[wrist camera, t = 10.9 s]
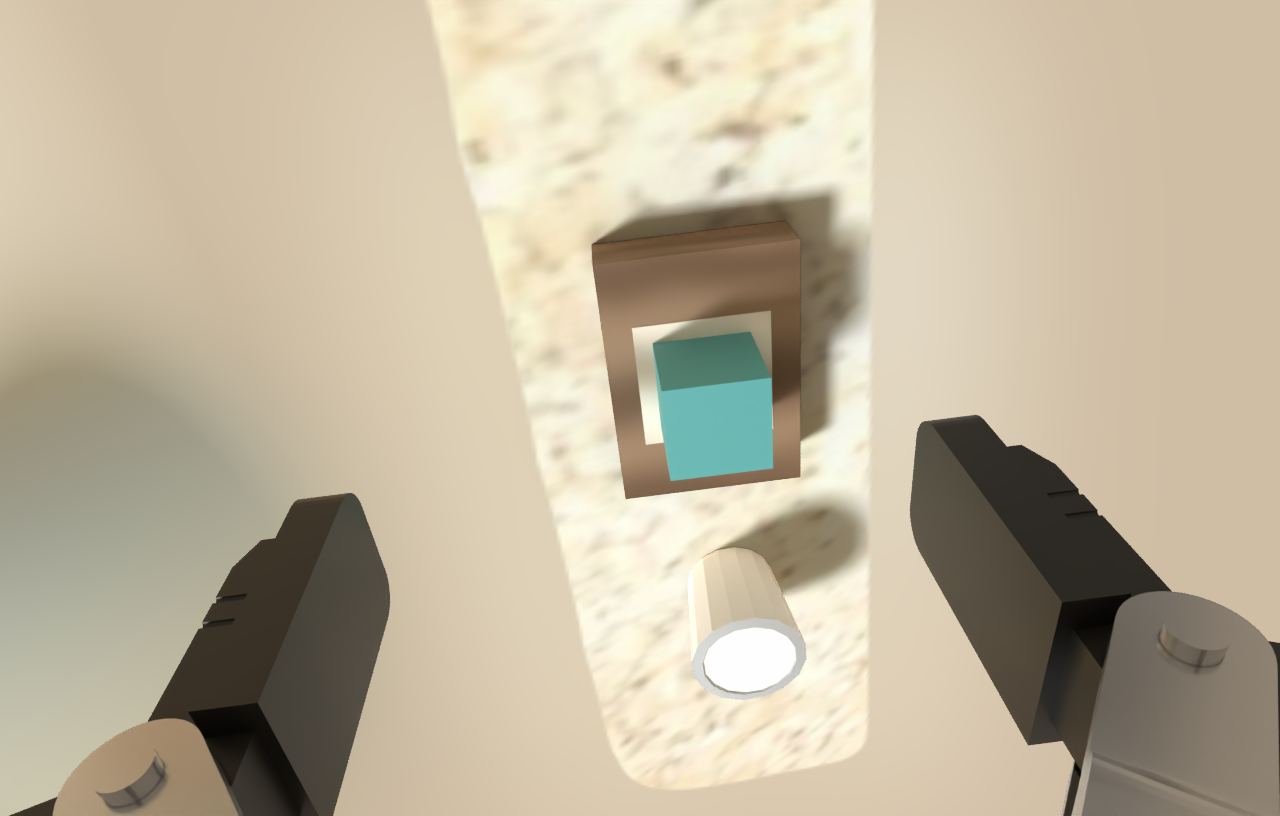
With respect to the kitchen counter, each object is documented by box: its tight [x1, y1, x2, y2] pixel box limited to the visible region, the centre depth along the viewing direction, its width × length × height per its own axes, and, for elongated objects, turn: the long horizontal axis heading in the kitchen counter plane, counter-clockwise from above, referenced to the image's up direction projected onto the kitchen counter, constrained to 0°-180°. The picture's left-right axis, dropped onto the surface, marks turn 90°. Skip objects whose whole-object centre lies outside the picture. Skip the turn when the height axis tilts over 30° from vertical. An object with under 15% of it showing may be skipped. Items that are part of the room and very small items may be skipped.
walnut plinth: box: [592, 221, 800, 499], centre depth 42 cm, size 14×10×3 cm
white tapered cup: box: [688, 547, 806, 700], centre depth 49 cm, size 7×7×7 cm
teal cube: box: [652, 332, 773, 481], centre depth 39 cm, size 5×5×5 cm
